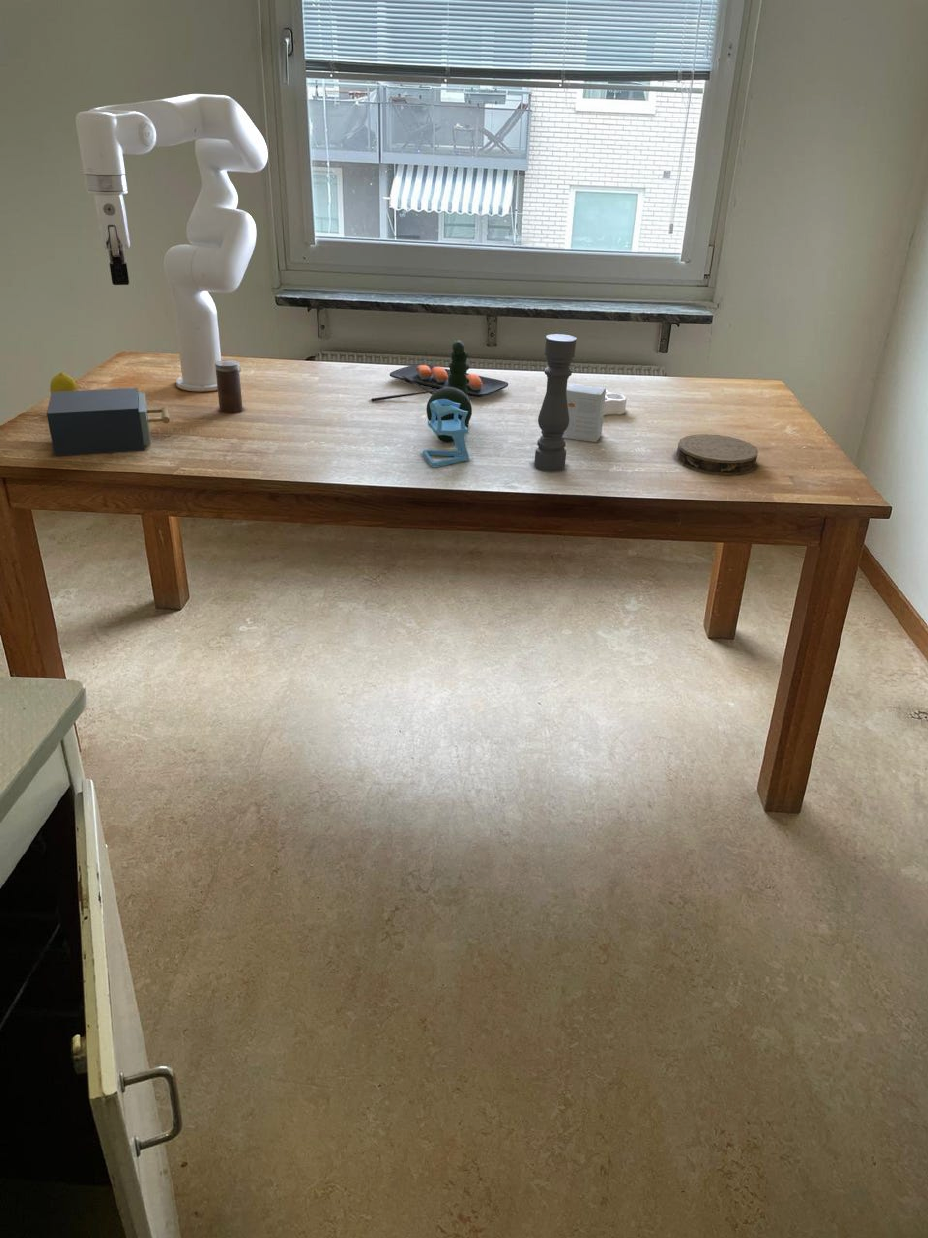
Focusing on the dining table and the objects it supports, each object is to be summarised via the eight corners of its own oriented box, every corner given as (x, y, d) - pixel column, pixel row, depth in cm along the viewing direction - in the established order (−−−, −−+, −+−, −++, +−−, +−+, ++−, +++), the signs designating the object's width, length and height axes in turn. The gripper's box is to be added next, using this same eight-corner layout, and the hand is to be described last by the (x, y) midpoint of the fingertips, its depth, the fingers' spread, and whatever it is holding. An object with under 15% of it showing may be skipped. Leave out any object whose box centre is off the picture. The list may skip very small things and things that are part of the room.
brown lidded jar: (235, 405, 204) (230, 358, 198) (246, 410, 201) (242, 363, 195) (215, 409, 201) (210, 362, 195) (227, 414, 198) (222, 367, 192)
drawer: (170, 422, 189) (166, 391, 186) (172, 443, 178) (168, 410, 175) (70, 428, 183) (64, 396, 180) (66, 449, 173) (60, 416, 169)
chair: (472, 464, 177) (475, 405, 171) (431, 467, 174) (433, 407, 168) (461, 451, 183) (463, 393, 177) (422, 454, 181) (423, 395, 175)
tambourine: (707, 478, 175) (710, 464, 174) (661, 452, 188) (663, 438, 186) (771, 469, 181) (774, 455, 179) (722, 444, 193) (725, 431, 192)
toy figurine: (436, 421, 204) (420, 448, 182) (439, 335, 196) (423, 352, 174) (477, 424, 204) (466, 452, 181) (482, 338, 196) (471, 356, 173)
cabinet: (143, 427, 188) (137, 387, 184) (144, 450, 177) (138, 408, 172) (59, 432, 184) (51, 391, 179) (54, 455, 172) (46, 413, 168)
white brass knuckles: (618, 400, 219) (629, 418, 207) (545, 397, 218) (551, 416, 206) (619, 386, 218) (631, 404, 205) (546, 384, 217) (553, 401, 204)
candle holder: (531, 460, 180) (542, 333, 168) (562, 460, 181) (574, 334, 168) (536, 471, 175) (547, 341, 162) (567, 471, 175) (581, 341, 163)
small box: (601, 435, 195) (607, 387, 190) (596, 443, 191) (602, 394, 186) (566, 430, 198) (570, 382, 192) (560, 437, 193) (564, 389, 188)
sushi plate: (512, 390, 223) (513, 375, 221) (446, 419, 201) (447, 402, 199) (417, 369, 236) (417, 355, 234) (345, 395, 214) (345, 379, 212)
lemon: (85, 406, 199) (79, 370, 195) (73, 413, 194) (67, 376, 190) (61, 404, 199) (54, 368, 195) (49, 411, 195) (42, 375, 190)
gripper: (126, 188, 168) (140, 290, 177) (126, 181, 180) (139, 277, 189) (84, 188, 166) (100, 291, 175) (87, 180, 178) (102, 277, 187)
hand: (121, 283), depth 182 cm, fingers closed
